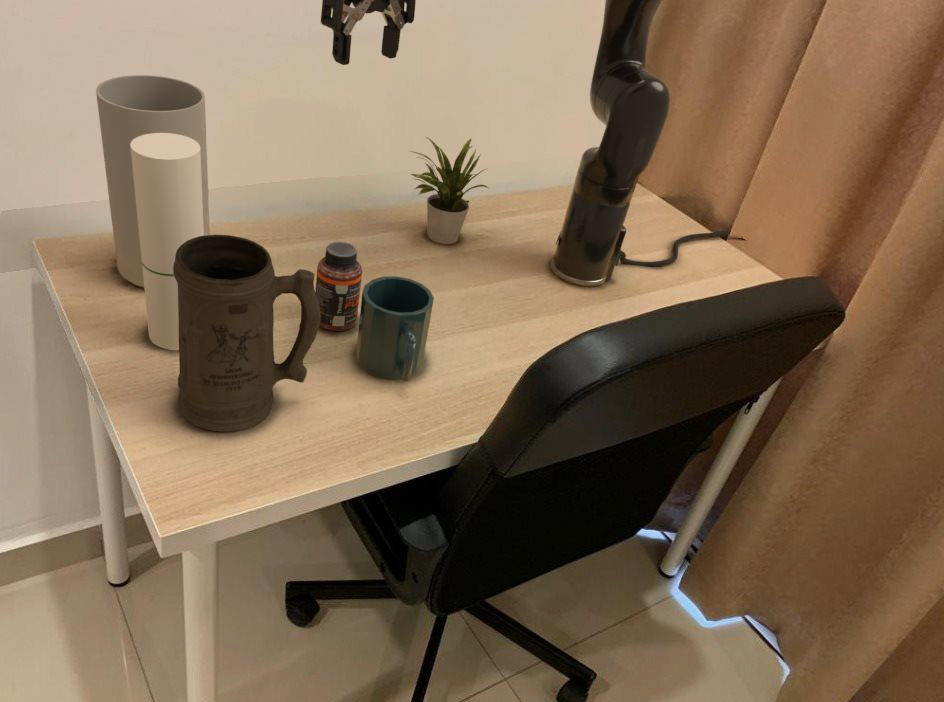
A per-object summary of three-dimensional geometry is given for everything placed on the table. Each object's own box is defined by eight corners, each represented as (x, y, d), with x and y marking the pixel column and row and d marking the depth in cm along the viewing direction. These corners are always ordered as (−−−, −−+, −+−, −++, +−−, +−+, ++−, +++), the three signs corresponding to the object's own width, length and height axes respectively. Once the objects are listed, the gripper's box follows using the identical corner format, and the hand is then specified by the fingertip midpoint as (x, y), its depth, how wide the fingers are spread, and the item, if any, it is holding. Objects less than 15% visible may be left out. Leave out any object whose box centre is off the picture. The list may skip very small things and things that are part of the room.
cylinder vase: (194, 242, 116) (186, 74, 101) (223, 284, 109) (219, 109, 94) (107, 253, 110) (84, 76, 95) (131, 299, 103) (111, 114, 87)
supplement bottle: (349, 337, 104) (356, 264, 97) (307, 326, 104) (311, 253, 97) (362, 315, 108) (370, 244, 101) (322, 304, 109) (327, 233, 102)
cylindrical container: (216, 343, 98) (210, 156, 83) (159, 355, 94) (142, 162, 79) (196, 313, 102) (187, 130, 87) (141, 324, 99) (121, 135, 83)
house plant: (412, 206, 138) (424, 117, 128) (486, 224, 137) (505, 135, 127) (391, 241, 127) (403, 145, 117) (472, 261, 126) (491, 166, 116)
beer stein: (178, 440, 84) (182, 283, 72) (165, 380, 91) (166, 228, 79) (315, 426, 90) (339, 281, 79) (292, 371, 98) (311, 230, 86)
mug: (349, 341, 103) (356, 277, 97) (412, 337, 106) (422, 275, 100) (370, 398, 95) (378, 331, 88) (437, 392, 98) (450, 328, 91)
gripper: (355, -74, 85) (344, 75, 95) (440, -73, 95) (422, 63, 105) (311, -89, 89) (305, 56, 99) (398, -87, 98) (384, 46, 108)
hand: (365, 59), depth 102 cm, fingers open, 8 cm apart
